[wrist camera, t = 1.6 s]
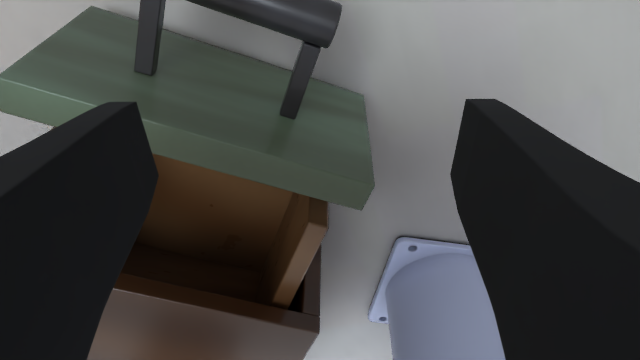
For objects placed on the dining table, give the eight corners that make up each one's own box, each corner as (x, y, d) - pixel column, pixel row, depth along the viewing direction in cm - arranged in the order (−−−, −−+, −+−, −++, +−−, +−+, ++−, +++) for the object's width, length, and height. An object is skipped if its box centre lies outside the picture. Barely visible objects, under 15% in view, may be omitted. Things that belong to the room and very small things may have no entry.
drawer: (94, -119, 15) (-25, -91, 10) (407, 0, 17) (438, 72, 12) (85, 224, 25) (23, 324, 20) (283, 271, 27) (273, 372, 22)
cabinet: (82, 136, 22) (-18, 260, 16) (322, 201, 24) (320, 333, 18) (79, 296, 30) (12, 421, 24) (260, 334, 33) (243, 457, 26)
